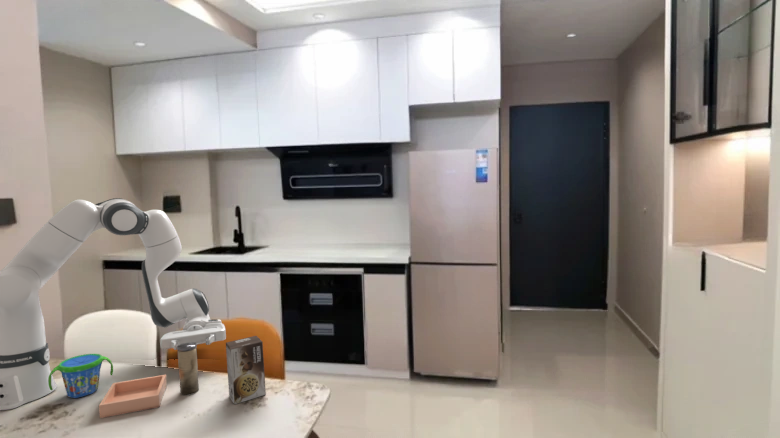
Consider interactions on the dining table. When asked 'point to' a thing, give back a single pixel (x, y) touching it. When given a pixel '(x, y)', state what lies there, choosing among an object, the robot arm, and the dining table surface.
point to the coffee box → (245, 369)
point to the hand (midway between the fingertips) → (192, 344)
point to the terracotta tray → (133, 396)
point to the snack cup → (81, 374)
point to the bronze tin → (188, 368)
